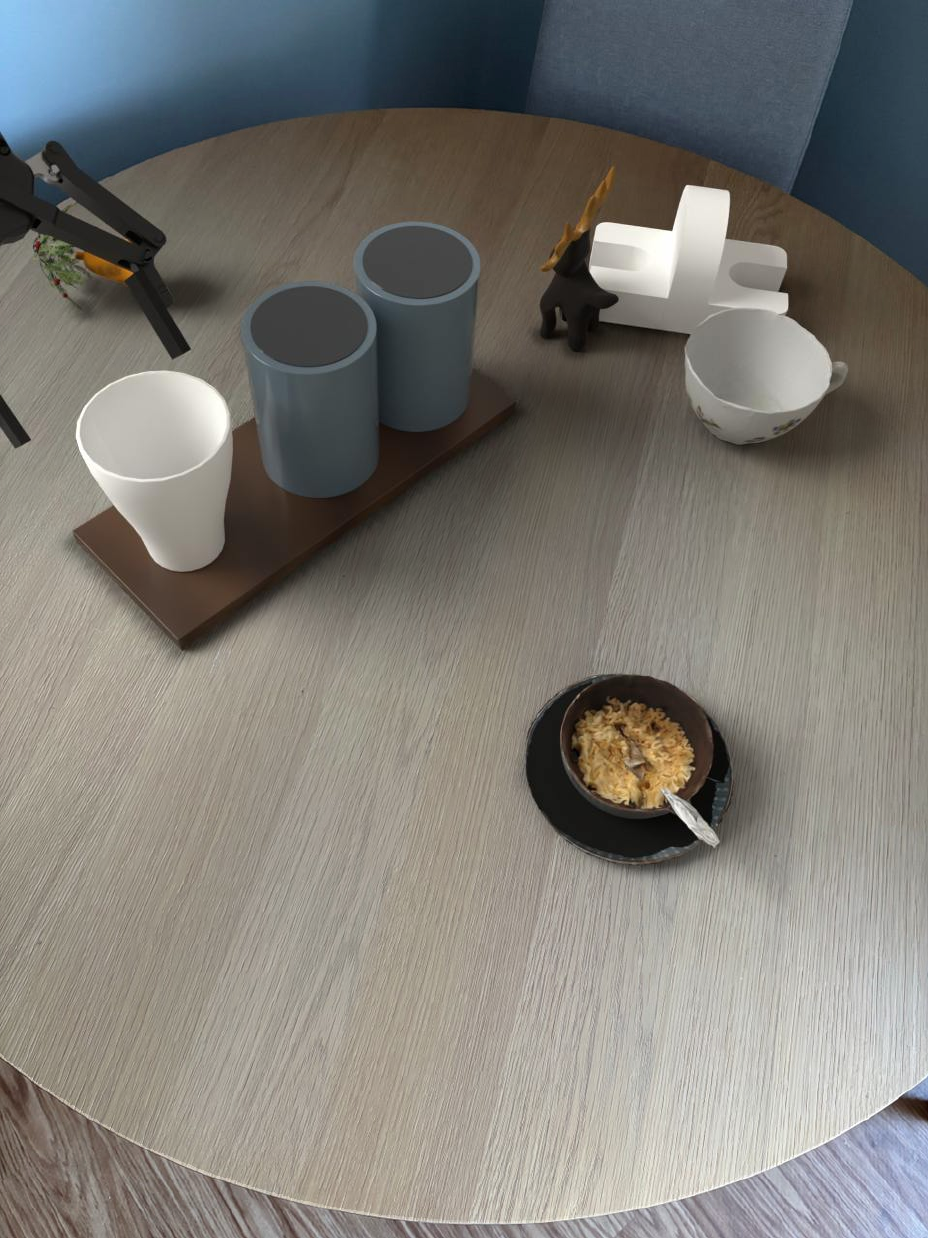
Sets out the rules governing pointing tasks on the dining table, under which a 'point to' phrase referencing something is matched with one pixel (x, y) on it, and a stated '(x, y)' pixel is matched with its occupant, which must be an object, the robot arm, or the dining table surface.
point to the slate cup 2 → (421, 320)
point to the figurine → (576, 279)
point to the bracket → (685, 268)
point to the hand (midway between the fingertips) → (105, 398)
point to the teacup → (756, 374)
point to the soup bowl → (629, 769)
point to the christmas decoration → (90, 261)
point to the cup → (163, 461)
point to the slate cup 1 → (314, 387)
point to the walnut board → (275, 521)
